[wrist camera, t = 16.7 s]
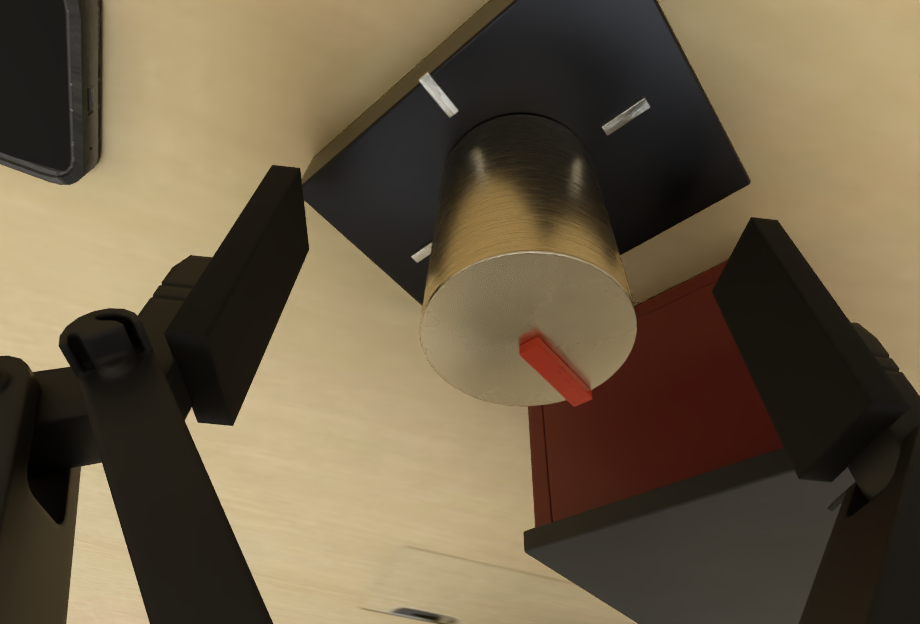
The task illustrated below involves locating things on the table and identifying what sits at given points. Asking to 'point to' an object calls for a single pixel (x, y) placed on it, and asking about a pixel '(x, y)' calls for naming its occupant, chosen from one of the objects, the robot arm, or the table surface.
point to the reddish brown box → (653, 411)
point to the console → (541, 94)
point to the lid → (702, 545)
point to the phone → (50, 87)
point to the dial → (524, 269)
